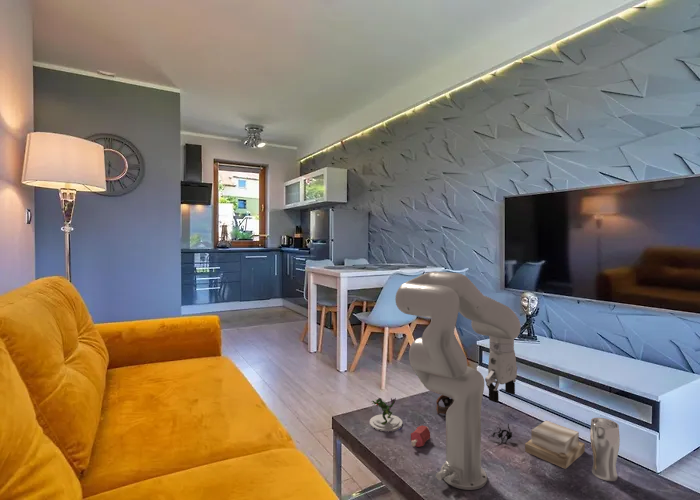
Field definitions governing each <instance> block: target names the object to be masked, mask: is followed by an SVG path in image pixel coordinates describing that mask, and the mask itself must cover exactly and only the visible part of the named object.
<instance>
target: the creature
mask: <svg viewBox="0 0 700 500" xmlns="http://www.w3.org/2000/svg"><path fill="white" fill-rule="evenodd" d="M496 429H497V430H498V431H497V432H493V433H492V434H490V435H489V436H488V437H487V438H488V439H490V438H491V437H492V438H496V435H497V438H498V439H500V440H501V442H498V444H497V445H496V447H498V446H501V445H502V444H503V440H504V439H505V438H506V439H505V442H504V444H507V441H508V440H510V439H511V438H512V437H513V436H512V435H513V432H511V429H510V424H509V423H508V424H507V429H508V430H506V429H501V427H499V426H498V427H496ZM504 433H506V434H505V435H503V434H504ZM499 443H500V444H499Z"/></svg>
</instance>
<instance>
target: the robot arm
mask: <svg viewBox="0 0 700 500" xmlns="http://www.w3.org/2000/svg"><path fill="white" fill-rule="evenodd" d="M394 300H395V305H396V307H397V309H398V310H399V311H400V312H402V313H403V314H406V315H410V316H416V317H423V318H429V319H431V320H430V323H429V324H428V325H427V326H426V328H425V329H424V331H423V332H422V335H421V337H418V338H416V339H414V340H413V341H412V343H411V345H410V346H409V350H408V351H409V352H408V359H409V364H410V367H411V368H412V370H413V372H414V374H415V375H416V376H417V378H418V379H419V380H420V382H421V383H422V385H423V386H424V387H425V389H426V390H428V391H430V392H432V393H435V394H438V395H440V396H441V395H444V396H447V397H449V398H450V399H451V398H452V399H453V400H454V402H453V404H452V405H451V406H450V407H449V408H448V410H447V412H446V414H445V458H446V459H445V462H444V463H443V464H442V465H441V468H440V471H438V472H436V473H435V478H436V479H437V480H438V481H440V482H441V481H442V480H443V481H444V482H445V483H447V484H448V485H450V486H451V487H453V488H456V489H460V490H465V491H475V490H479V489H481V488H483V487H484V486H485V485H486V484H487V482H488V476H487V472H486V471H485V470H484V468H482V427H481V426H482V425H481V423H482V422H481V421H482V418H481V417H482V403H483V396H484V390H485V384H486V386H487V389H488V400H489V401H491V402H493V403H496V404H497V403H499V390H498V389H499V386H500V385H505V386H504V389H505V393H508V394H509V395H515V394H516V386H515V385H516V381H517V379H516V378H517V377H518V376H517V375H518V373H517V371H518V366H517V358H516V357H517V356H516V352H515V347H514V346H515V339H516V338H518V337H519V335H520V333H521V322H520V319H519V317H518V316H517V314H516V313H515V311H513V309H512V308H510V307H509V306H507V305H505V304H504V303H501V302H499V301H497V300H495V299H494V298H491V297H489V296H486V295H484V294H483V293H482V292H481V291H480V290H479V288H477V286H476V284H474V283H473V282H472V281H471V280H470V279H469V277H468V276H466V275H464V274H463V273H459V272H447V271H430V272H426V273H423V274H421V275H419V276H417V277H413V278H411V279H409V280H408V281H406V282H404V283H402V284H401V285H400V286H399V287H398V289H397V291H396V293H395V299H394ZM459 314H460V315H461V316H463V317H464V318H465V319H466V320H469V321H471V329H472V330H473V332H475V333H476V334H478V335H480V336H487V337H489V356H488V368H487V369H488V374H487V375H486V377H485V378H484V376H483V374H482V373H481V372H480V371H479V370H477V369H476V368H473V367H471V366H468V360H467V359H468V358H467V357H466V355H465V352H464V350H463V348H462V347H461V345H460V342H459V341H458V339H457V336H456V334H455V328H456V324H457V320H458V316H459Z"/></svg>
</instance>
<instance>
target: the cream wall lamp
mask: <svg viewBox="0 0 700 500" xmlns="http://www.w3.org/2000/svg"><path fill="white" fill-rule="evenodd" d="M579 433H580V432H579V431H578V430H576V429H575V430H574V429H572V428H569V427H566V426H563V425H560V424H557V423H554V422H551V421H548V420H545V421H543V422H542V423H540V424H538V425H537V426H536V427H534V428H532V429H531V435H530V436H531V439H529V440H528V441H527V442H525V443H524V446H525V447H524V448H525V449H524V450H525V453H527V454H530V455H532V456H534V457H537V458H539V459H541V460H543V461H546V462H548V463H550V464H553V465H554V466H555V465H556V466H557V467H559V468H562V469H565V470H567V468H568V467H570V466H571V465H572V464H574V462H575V461H576V460H577V459H579V458H580V457H581V456H582V455H584V453H585V449H586V448H585V447H586V444H585V443H584V442H582V441H579V436H580V435H579Z"/></svg>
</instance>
